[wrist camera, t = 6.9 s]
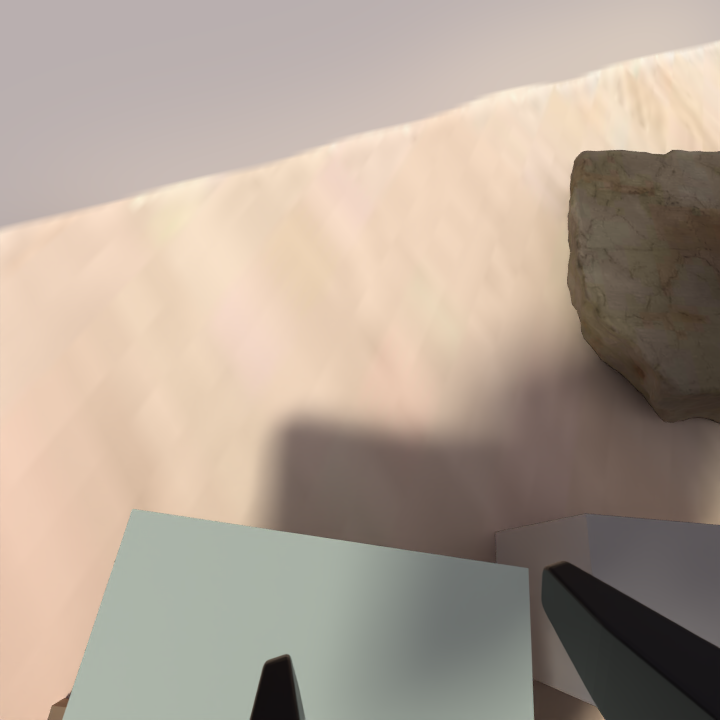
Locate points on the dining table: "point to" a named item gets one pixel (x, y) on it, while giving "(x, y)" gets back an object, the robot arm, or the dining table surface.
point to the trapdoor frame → (58, 710)
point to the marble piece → (650, 272)
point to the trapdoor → (301, 628)
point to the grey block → (618, 576)
